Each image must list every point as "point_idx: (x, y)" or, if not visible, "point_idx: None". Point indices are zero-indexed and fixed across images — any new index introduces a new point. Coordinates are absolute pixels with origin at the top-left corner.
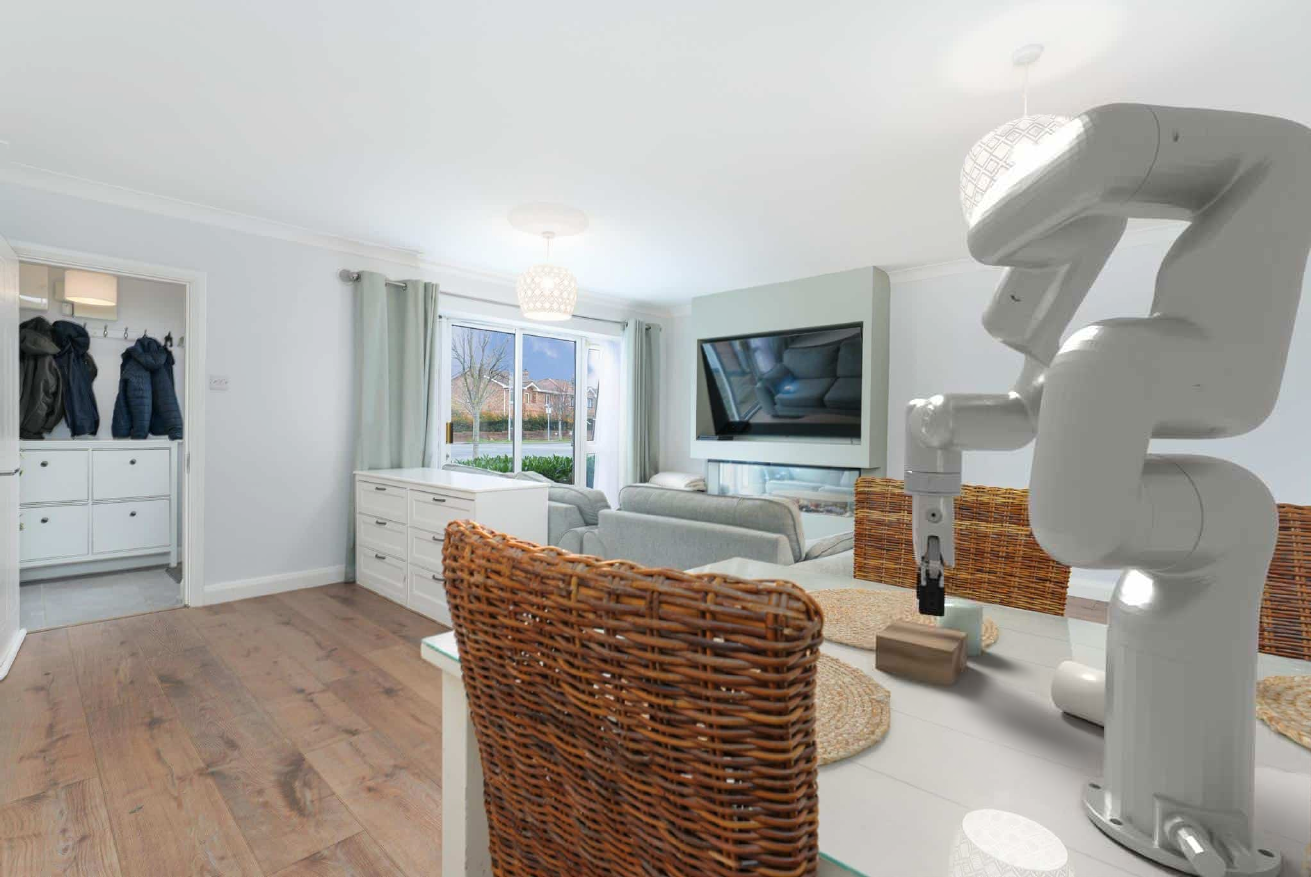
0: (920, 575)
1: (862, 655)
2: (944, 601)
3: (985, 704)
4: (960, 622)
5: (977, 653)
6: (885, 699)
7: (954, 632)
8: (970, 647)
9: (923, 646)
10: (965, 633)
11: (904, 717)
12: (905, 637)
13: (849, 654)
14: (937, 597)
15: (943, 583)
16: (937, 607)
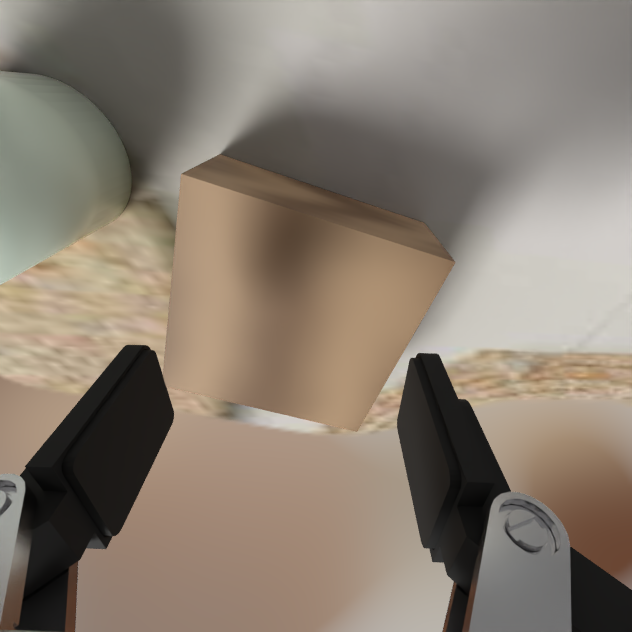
0: (115, 524)
1: None
2: (460, 405)
3: (536, 144)
4: (54, 189)
5: (85, 99)
6: (526, 358)
7: (206, 227)
8: (97, 130)
9: (411, 335)
10: (195, 184)
11: (615, 331)
12: (347, 374)
13: None
14: (488, 455)
15: (564, 537)
16: (468, 408)
